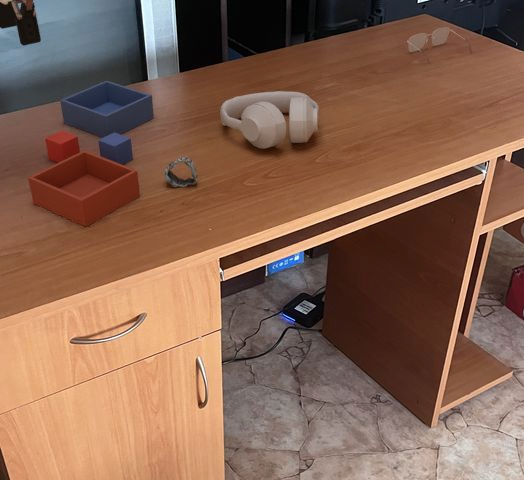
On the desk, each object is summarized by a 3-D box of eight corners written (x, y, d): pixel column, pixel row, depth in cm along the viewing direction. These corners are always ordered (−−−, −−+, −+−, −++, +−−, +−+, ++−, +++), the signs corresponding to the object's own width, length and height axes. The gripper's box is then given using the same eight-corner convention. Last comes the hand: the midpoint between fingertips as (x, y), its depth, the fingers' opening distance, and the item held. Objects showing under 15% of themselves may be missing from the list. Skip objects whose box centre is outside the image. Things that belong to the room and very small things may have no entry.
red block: (48, 159, 139) (44, 137, 137) (65, 150, 142) (62, 130, 139) (64, 165, 138) (60, 144, 135) (81, 157, 140) (77, 136, 137)
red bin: (33, 203, 127) (27, 177, 124) (88, 174, 135) (84, 149, 132) (85, 226, 122) (81, 200, 119) (140, 195, 129) (137, 170, 126)
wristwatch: (183, 187, 135) (162, 167, 132) (204, 170, 132) (183, 150, 129) (181, 197, 132) (159, 178, 130) (202, 181, 130) (180, 161, 127)
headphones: (338, 144, 143) (299, 116, 159) (339, 101, 138) (298, 76, 154) (242, 159, 138) (211, 128, 154) (239, 114, 134) (208, 87, 150)
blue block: (100, 161, 139) (98, 140, 136) (117, 153, 141) (114, 132, 139) (117, 167, 137) (114, 146, 134) (133, 159, 139) (130, 138, 137)
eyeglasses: (448, 42, 186) (451, 25, 183) (472, 54, 182) (476, 37, 179) (404, 53, 180) (407, 36, 177) (428, 67, 176) (431, 49, 173)
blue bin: (63, 123, 151) (59, 100, 148) (109, 102, 158) (106, 80, 155) (109, 140, 145) (106, 116, 142) (154, 118, 153) (151, 95, 150)
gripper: (-49, -91, 119) (-21, 25, 130) (-11, -70, 108) (16, 55, 119) (-1, -98, 122) (23, 16, 133) (40, -78, 111) (62, 45, 122)
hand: (20, 34), depth 126 cm, fingers open, 9 cm apart
